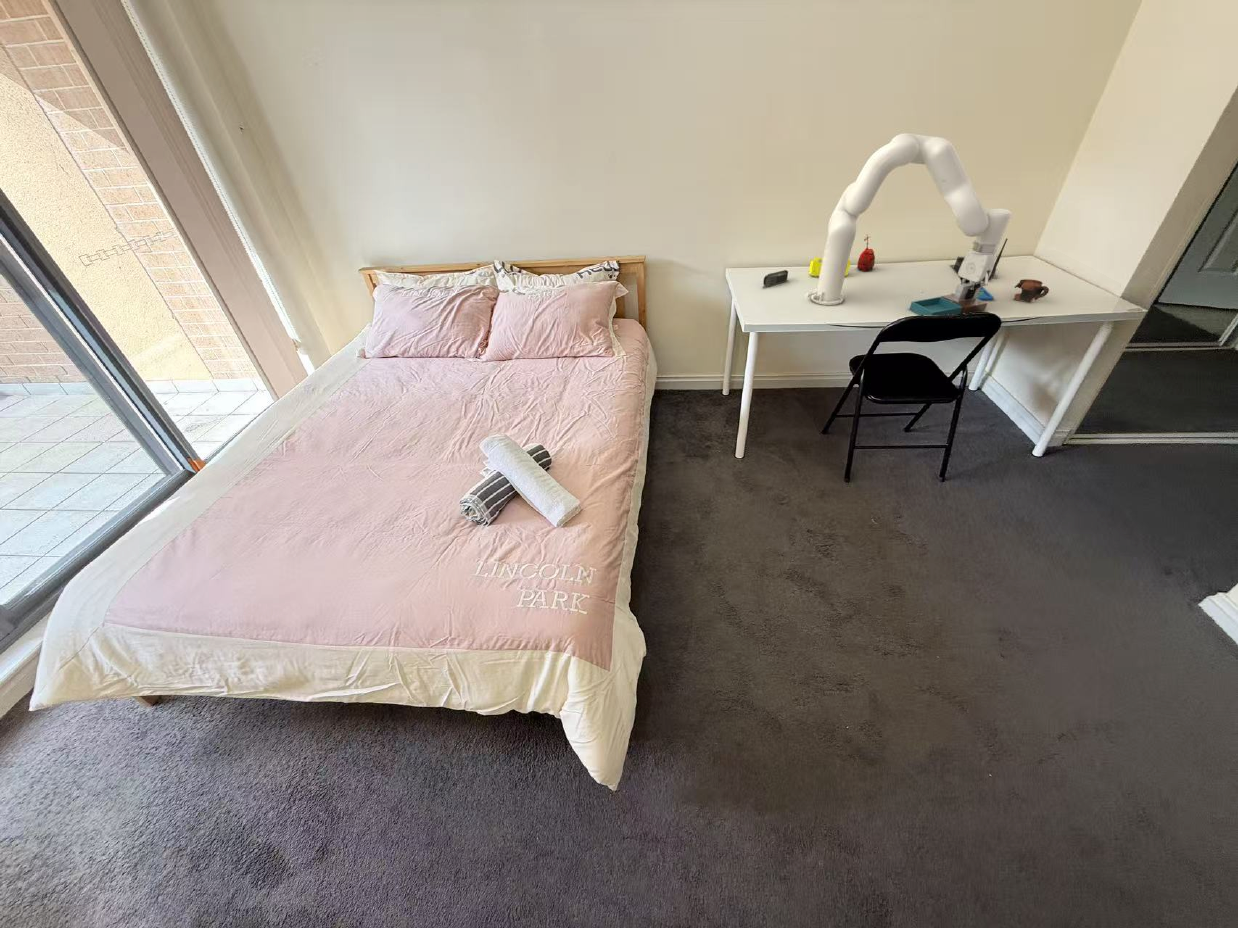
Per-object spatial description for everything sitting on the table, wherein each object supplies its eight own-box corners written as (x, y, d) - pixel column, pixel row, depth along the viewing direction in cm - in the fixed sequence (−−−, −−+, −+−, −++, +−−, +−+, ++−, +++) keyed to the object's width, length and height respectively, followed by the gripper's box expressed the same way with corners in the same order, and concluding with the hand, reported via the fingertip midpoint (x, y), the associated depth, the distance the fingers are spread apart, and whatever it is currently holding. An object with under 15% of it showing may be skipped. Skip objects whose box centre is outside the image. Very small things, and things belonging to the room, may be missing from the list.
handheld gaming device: (980, 283, 204) (995, 297, 193) (979, 286, 205) (993, 300, 194) (958, 283, 206) (971, 297, 194) (957, 286, 206) (970, 299, 195)
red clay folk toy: (867, 273, 223) (876, 238, 214) (852, 270, 227) (861, 235, 218) (875, 269, 227) (884, 234, 217) (860, 265, 231) (869, 231, 221)
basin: (930, 320, 184) (932, 312, 182) (909, 309, 192) (911, 301, 190) (959, 314, 186) (962, 307, 184) (937, 304, 194) (940, 296, 192)
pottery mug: (1004, 299, 195) (1013, 277, 193) (1015, 305, 200) (1024, 284, 198) (1039, 300, 185) (1049, 278, 183) (1049, 307, 190) (1059, 285, 188)
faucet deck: (960, 315, 185) (963, 307, 183) (935, 303, 195) (938, 295, 193) (988, 310, 187) (991, 302, 185) (962, 298, 197) (965, 290, 195)
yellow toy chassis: (810, 277, 223) (814, 258, 218) (808, 273, 227) (811, 254, 222) (847, 277, 221) (851, 258, 215) (844, 273, 225) (848, 254, 220)
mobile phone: (785, 268, 220) (761, 275, 214) (790, 270, 218) (766, 277, 212) (783, 279, 224) (759, 287, 217) (788, 281, 222) (764, 288, 215)
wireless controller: (950, 265, 225) (965, 225, 214) (984, 265, 223) (1000, 225, 212) (964, 281, 210) (980, 238, 199) (1000, 281, 208) (1019, 238, 197)
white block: (957, 302, 187) (964, 286, 183) (952, 299, 189) (958, 283, 185) (976, 298, 189) (983, 282, 185) (970, 296, 191) (977, 280, 187)
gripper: (958, 242, 182) (940, 291, 194) (995, 255, 170) (973, 306, 182) (975, 240, 183) (956, 288, 195) (1013, 252, 171) (990, 303, 183)
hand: (965, 297), depth 188 cm, fingers closed on white block, 2 cm apart
